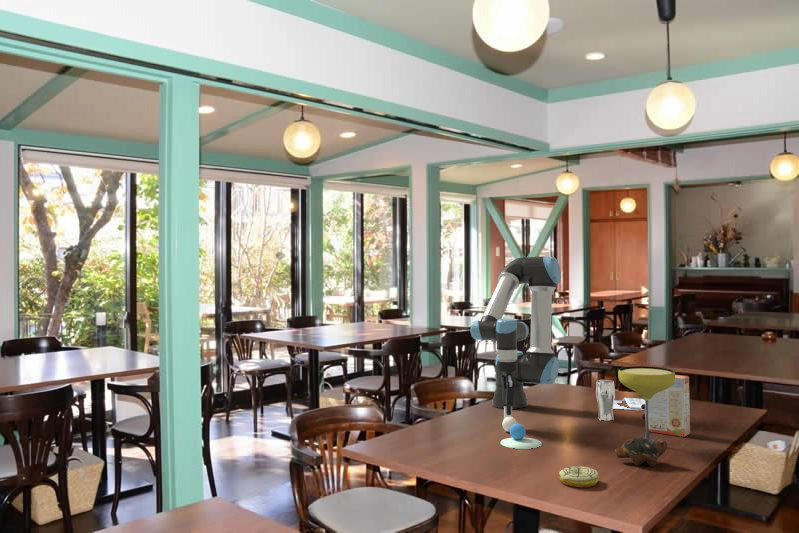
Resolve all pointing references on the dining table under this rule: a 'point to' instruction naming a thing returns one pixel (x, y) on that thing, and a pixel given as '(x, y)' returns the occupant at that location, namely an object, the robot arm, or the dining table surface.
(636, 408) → the snack bag
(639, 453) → the decorative turtle
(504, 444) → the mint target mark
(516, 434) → the blue object ball
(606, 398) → the beer glass
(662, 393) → the cracker box
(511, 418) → the white cue ball
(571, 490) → the dining table surface
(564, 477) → the decorated donut
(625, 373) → the cocktail glass
